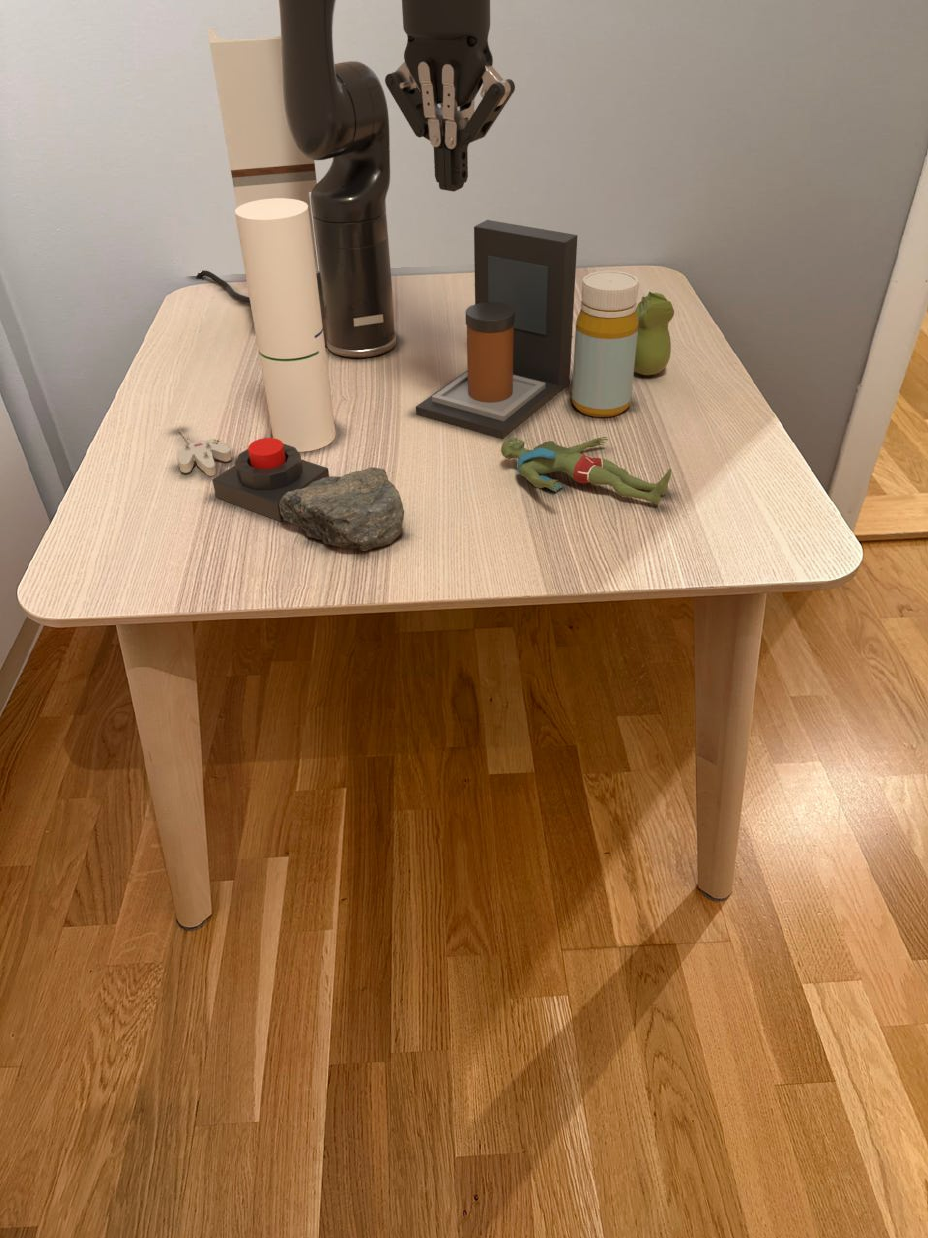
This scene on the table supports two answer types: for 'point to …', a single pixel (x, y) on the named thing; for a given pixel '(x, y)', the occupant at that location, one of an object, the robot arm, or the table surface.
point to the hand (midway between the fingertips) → (451, 188)
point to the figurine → (578, 468)
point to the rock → (348, 509)
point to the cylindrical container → (287, 320)
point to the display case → (259, 123)
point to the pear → (653, 334)
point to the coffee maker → (518, 324)
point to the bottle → (605, 344)
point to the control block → (266, 482)
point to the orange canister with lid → (490, 351)
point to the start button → (266, 453)
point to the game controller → (202, 455)
